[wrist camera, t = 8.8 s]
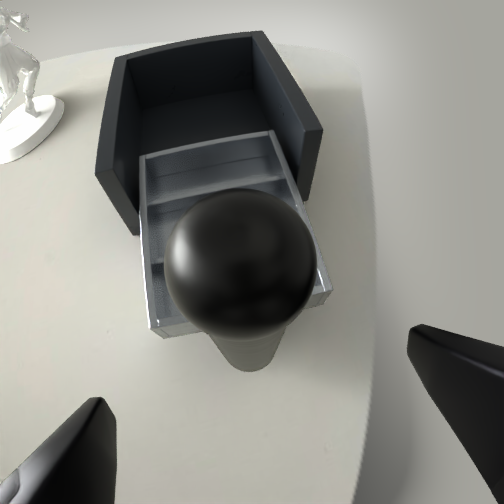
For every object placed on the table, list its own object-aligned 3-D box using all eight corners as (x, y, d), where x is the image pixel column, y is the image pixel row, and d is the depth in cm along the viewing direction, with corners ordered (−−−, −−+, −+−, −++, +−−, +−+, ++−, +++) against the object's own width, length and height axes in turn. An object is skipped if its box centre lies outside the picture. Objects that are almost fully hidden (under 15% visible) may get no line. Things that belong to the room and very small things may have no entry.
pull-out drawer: (338, 354, 14) (484, 254, 4) (172, 391, 14) (9, 357, 4) (272, 154, 20) (280, -12, 10) (148, 179, 19) (90, 22, 9)
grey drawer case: (308, 200, 20) (324, 129, 14) (132, 236, 19) (93, 174, 13) (261, 90, 25) (262, 30, 19) (133, 115, 24) (114, 57, 18)
